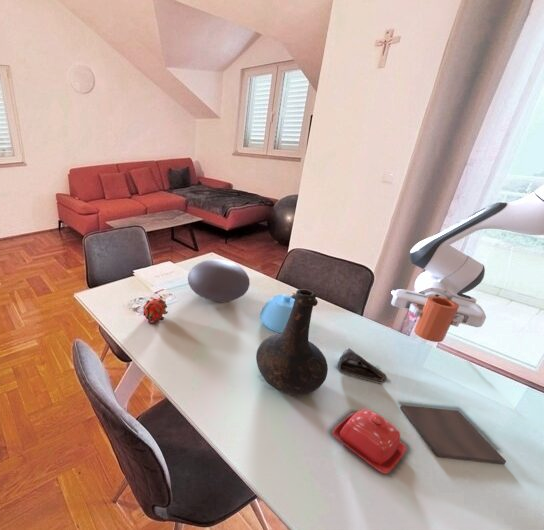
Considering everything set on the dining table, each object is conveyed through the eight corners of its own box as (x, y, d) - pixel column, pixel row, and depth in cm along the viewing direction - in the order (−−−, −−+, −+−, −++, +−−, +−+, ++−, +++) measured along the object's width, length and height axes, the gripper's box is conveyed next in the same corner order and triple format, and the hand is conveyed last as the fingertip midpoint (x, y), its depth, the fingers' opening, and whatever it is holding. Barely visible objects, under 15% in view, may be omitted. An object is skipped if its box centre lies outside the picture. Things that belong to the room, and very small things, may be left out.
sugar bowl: (252, 325, 112) (257, 297, 108) (268, 308, 123) (273, 282, 118) (296, 342, 103) (303, 312, 99) (309, 322, 114) (316, 294, 109)
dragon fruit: (163, 313, 122) (150, 334, 113) (146, 299, 122) (132, 318, 113) (175, 302, 117) (163, 323, 108) (157, 288, 117) (144, 307, 108)
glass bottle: (285, 414, 77) (309, 320, 66) (240, 367, 93) (253, 283, 81) (337, 394, 84) (367, 303, 72) (286, 352, 99) (305, 272, 87)
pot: (435, 330, 92) (450, 297, 87) (448, 343, 86) (464, 309, 81) (409, 327, 93) (422, 294, 89) (420, 340, 88) (435, 306, 83)
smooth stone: (238, 318, 117) (243, 282, 111) (177, 300, 128) (178, 267, 122) (253, 290, 136) (258, 259, 130) (199, 277, 148) (201, 248, 142)
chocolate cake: (382, 370, 92) (356, 335, 94) (390, 380, 86) (361, 343, 87) (350, 384, 96) (326, 349, 98) (355, 394, 89) (329, 358, 91)
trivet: (456, 413, 78) (458, 410, 77) (504, 464, 66) (506, 461, 66) (399, 407, 79) (401, 404, 79) (436, 456, 68) (438, 453, 67)
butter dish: (408, 451, 69) (421, 423, 65) (384, 480, 63) (398, 452, 60) (353, 414, 78) (362, 388, 74) (327, 437, 72) (336, 410, 68)
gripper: (394, 280, 101) (393, 297, 91) (483, 299, 89) (493, 321, 79) (388, 297, 104) (386, 316, 94) (474, 318, 92) (482, 341, 82)
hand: (436, 318), depth 86 cm, fingers closed on pot, 6 cm apart
